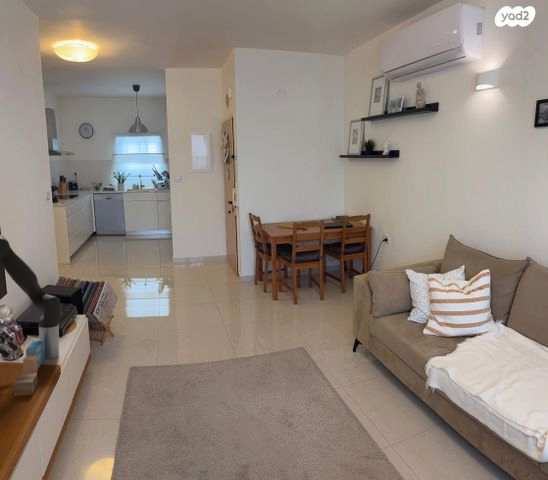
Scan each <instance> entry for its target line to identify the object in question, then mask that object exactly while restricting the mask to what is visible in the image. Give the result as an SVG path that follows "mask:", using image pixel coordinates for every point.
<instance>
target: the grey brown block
mask: <svg viewBox="0 0 548 480" xmlns="http://www.w3.org/2000/svg"><path fill="white" fill-rule="evenodd" d="M36 386H37V387H38V376H37V373H33V374H23V373H20V374H19V375H18V377H17V378H16V380H15V381H14V383H13V389H14V390H13V391H14V392H13V393H14V396H15V397H17V396H18V397H19V396H20V395H21V396H31V395H33V394H34V393H35V391H34V390H36V389H35V388H37V387H36Z"/></svg>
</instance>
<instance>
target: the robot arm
mask: <svg viewBox="0 0 548 480" xmlns="http://www.w3.org/2000/svg"><path fill="white" fill-rule="evenodd" d="M0 263H1V265H2V267H3V268H4V269H5V271H6V273H7V274H8V276H10V278H11V279H12V280H13V281H14V283H15V285H17V286H18V287H19V288H20V289H21V290H22V292H24V294H26V295H27V296H28V298H29V299H30V300H31V302H32V304H33V305H34V307H36V309H37V310H38V311H40V312H42V313H43V318H41V319H40V320H39V322H38V337H39V339H38V341H43V361H44V360H53V359H56V358H58V357H59V355H60V342H59V341H60V332H59V331H60V330H59V329H60V324H59V322H60V320H61V314H62V313H61V312H62V311H61V309H62V306H61V305H62V304H61V300H60V298H59V297H57V296H55V295H52V294H49V293H47V292H46V291H45V290H44V289H43V288H42V287H41V286H40V284H39V280H38V277H37V275H36V274H35V272H34V271H33V269H32V268H31V267H30V266H29V265H28V263H26V262H25V261H24V260H23V259H22V258H21V257H20V256H19V255H17V253H16V252H15V251H14V250H13V249H12V247H11V246H10V242H9V241H8V240H7V238H6V237H5V236H4V235H2V234H0ZM13 341H14V338H13V336H11V335H10V334H8V333H7V332H6V331H2V332H0V355H2V356H3V357H4V358H6V359H7V358H8V357H10V353H9V351H7V350H6V349H5V348H4V347H3V345H6V346H8V347H9V349H12V350H13V351H15V352H16V351H17V350H18V348H19V346H18V345H16V344H15V343H14V342H13Z"/></svg>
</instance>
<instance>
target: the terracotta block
mask: <svg viewBox="0 0 548 480" xmlns="http://www.w3.org/2000/svg"><path fill="white" fill-rule="evenodd" d="M22 369H23V370H22V374H33V373H38V372H39V371H38V370H39V369H38V362H37V356H26V355H25V357H24V358H23V359H22Z"/></svg>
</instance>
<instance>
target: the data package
mask: <svg viewBox="0 0 548 480" xmlns="http://www.w3.org/2000/svg"><path fill="white" fill-rule="evenodd" d="M26 356H37V362H38V367H39V365H43V362H44V359H43V341H39V340H32V341H31V342H30V344H28V346H27V347H26V348H25V357H26ZM39 368H40V367H39Z"/></svg>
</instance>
